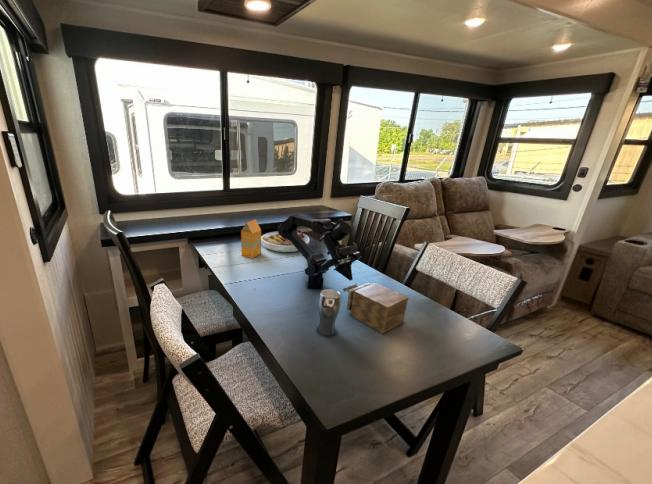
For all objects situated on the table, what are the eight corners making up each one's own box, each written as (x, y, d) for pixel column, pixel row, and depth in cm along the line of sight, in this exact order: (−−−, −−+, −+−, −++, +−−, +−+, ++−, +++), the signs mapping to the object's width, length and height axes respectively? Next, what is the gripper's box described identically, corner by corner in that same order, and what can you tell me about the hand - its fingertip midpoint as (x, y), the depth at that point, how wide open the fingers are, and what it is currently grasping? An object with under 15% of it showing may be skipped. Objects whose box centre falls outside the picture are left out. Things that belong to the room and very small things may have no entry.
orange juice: (261, 253, 180) (261, 220, 172) (252, 258, 173) (252, 223, 166) (250, 251, 184) (250, 217, 176) (241, 255, 177) (240, 221, 169)
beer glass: (337, 327, 112) (342, 290, 106) (334, 338, 106) (339, 300, 100) (318, 323, 114) (322, 287, 108) (314, 334, 108) (318, 296, 102)
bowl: (294, 257, 175) (295, 244, 172) (251, 247, 190) (251, 235, 187) (316, 243, 199) (317, 232, 196) (276, 235, 213) (277, 224, 210)
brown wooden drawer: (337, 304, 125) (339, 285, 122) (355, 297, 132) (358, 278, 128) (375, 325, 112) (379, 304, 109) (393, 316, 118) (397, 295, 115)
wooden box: (350, 315, 120) (353, 290, 116) (370, 306, 127) (374, 282, 123) (382, 333, 109) (387, 307, 105) (403, 322, 116) (408, 297, 112)
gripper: (329, 240, 116) (348, 277, 112) (361, 232, 126) (380, 266, 123) (313, 254, 125) (330, 288, 121) (344, 245, 135) (361, 277, 132)
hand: (351, 280), depth 124 cm, fingers closed
